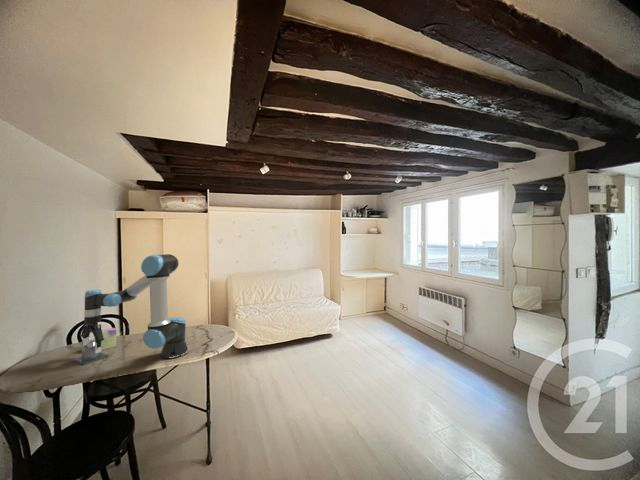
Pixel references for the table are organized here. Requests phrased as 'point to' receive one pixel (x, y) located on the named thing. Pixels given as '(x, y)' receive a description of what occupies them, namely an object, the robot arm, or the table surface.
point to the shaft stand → (84, 362)
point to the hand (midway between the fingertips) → (91, 350)
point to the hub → (89, 353)
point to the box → (108, 338)
